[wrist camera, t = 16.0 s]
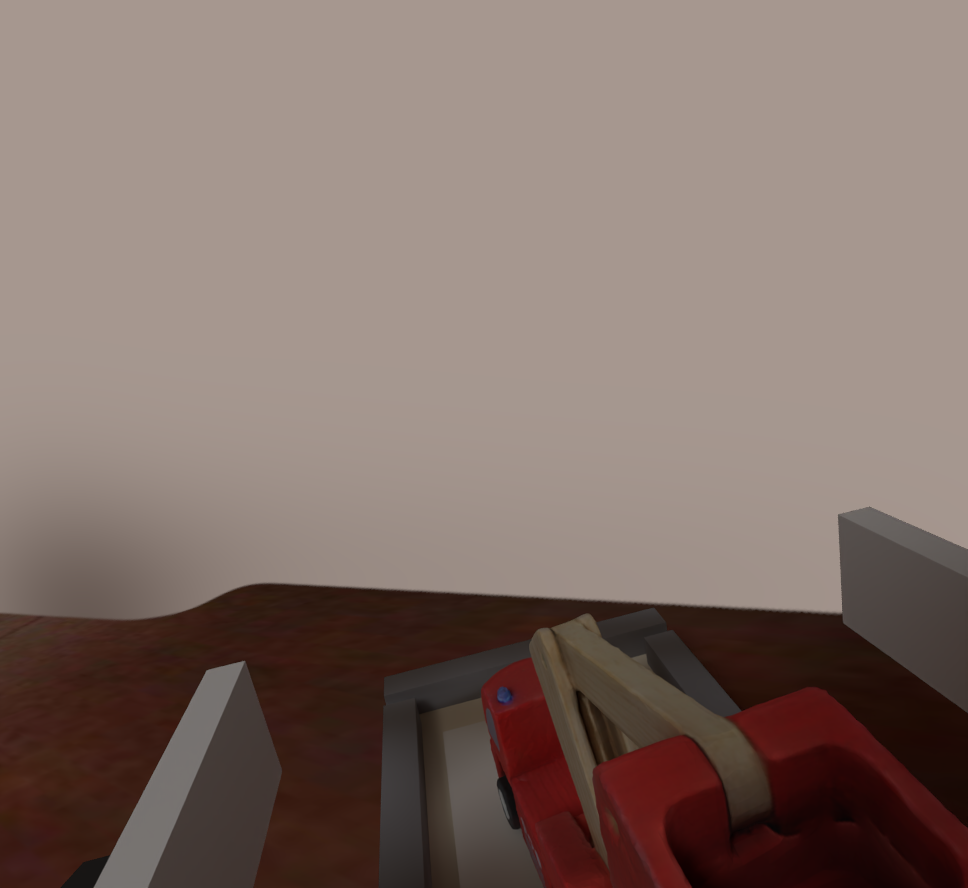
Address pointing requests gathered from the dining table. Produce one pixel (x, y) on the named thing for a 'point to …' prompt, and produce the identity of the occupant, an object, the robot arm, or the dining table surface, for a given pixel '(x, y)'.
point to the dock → (483, 761)
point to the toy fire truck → (701, 783)
